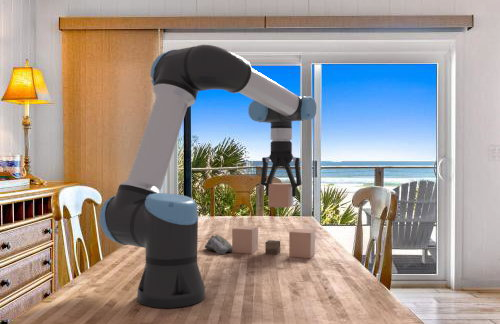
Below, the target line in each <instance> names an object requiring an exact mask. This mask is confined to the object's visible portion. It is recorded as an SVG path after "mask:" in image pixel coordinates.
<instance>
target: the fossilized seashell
mask: <svg viewBox="0 0 500 324" xmlns="http://www.w3.org/2000/svg"><path fill="white" fill-rule="evenodd" d="M204 248H205V249H207V250H209V251H215V252H216V254H218V255H225V254H227V252H228V253H233V252H232V243H230V242H229V241H228V240H227V239H226V238H224V237H223V236H221V235H218V234H216V235H211V237H209V239H208V240H207V243H206V244H205V246H204Z"/></svg>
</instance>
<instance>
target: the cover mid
mask: <svg viewBox="0 0 500 324" xmlns="http://www.w3.org/2000/svg"><path fill="white" fill-rule="evenodd" d="M291 186H292V185H291V183H290V182H286V183H285V182H272V183H271V184H269V205H268V207H269V208H286V209H287V208H290V207H292V206H290V187H291Z"/></svg>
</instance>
